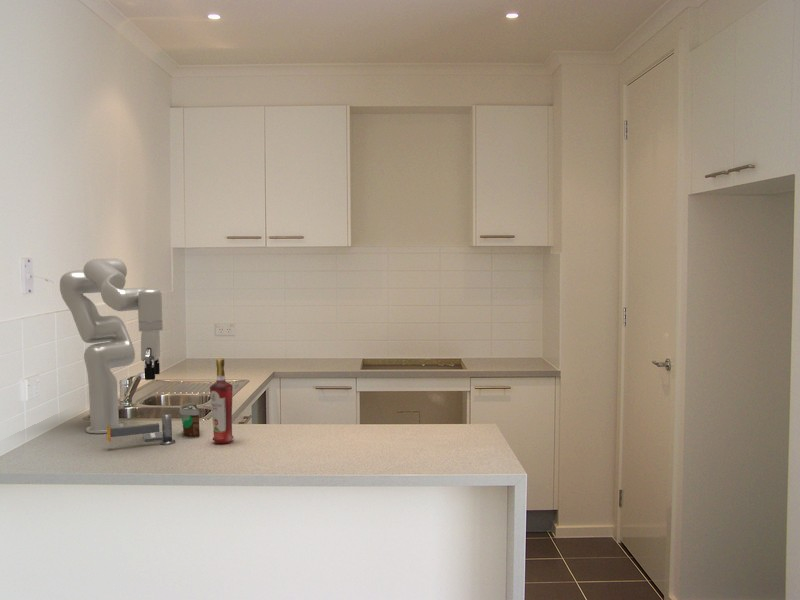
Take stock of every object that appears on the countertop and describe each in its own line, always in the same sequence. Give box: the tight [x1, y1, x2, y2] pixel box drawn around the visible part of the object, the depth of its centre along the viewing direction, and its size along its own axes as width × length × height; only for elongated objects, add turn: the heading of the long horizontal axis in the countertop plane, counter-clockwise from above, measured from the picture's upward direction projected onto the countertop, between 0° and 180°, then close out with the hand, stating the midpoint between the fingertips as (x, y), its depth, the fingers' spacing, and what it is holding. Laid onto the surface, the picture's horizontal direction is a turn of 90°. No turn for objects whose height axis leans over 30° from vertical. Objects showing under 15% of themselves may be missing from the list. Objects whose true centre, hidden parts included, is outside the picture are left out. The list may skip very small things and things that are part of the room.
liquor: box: [209, 358, 235, 445], centre depth 232 cm, size 7×7×28 cm
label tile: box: [142, 431, 163, 443], centre depth 240 cm, size 8×6×1 cm
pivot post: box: [159, 413, 176, 446], centre depth 233 cm, size 5×5×10 cm
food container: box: [179, 402, 201, 438], centre depth 244 cm, size 12×6×10 cm, turn 21°
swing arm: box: [106, 422, 161, 442], centre depth 229 cm, size 16×4×4 cm, turn 114°
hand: (152, 376), depth 234 cm, fingers open, 9 cm apart
